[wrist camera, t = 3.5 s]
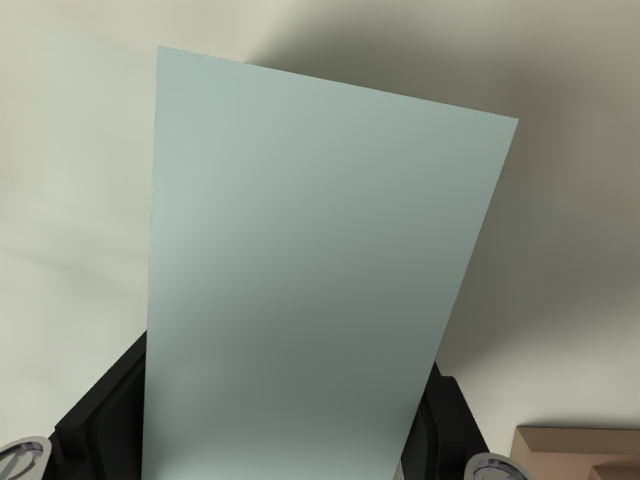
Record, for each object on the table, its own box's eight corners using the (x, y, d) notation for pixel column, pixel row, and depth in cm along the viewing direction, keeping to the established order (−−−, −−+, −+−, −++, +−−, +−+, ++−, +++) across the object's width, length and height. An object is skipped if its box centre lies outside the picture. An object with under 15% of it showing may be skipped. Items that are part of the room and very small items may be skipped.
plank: (230, 79, 9) (158, 45, 6) (446, 122, 9) (519, 118, 6) (188, 494, 14) (135, 626, 11) (331, 520, 14) (328, 661, 11)
